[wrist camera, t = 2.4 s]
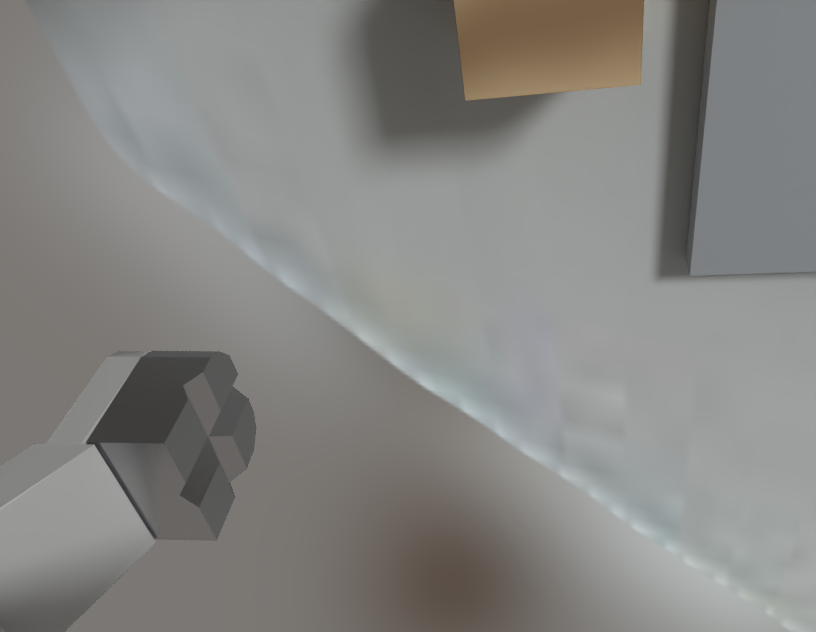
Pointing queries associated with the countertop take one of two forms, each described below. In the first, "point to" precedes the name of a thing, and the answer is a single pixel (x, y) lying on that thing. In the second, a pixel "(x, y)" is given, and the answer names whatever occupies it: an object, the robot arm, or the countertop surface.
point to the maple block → (548, 45)
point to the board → (756, 141)
